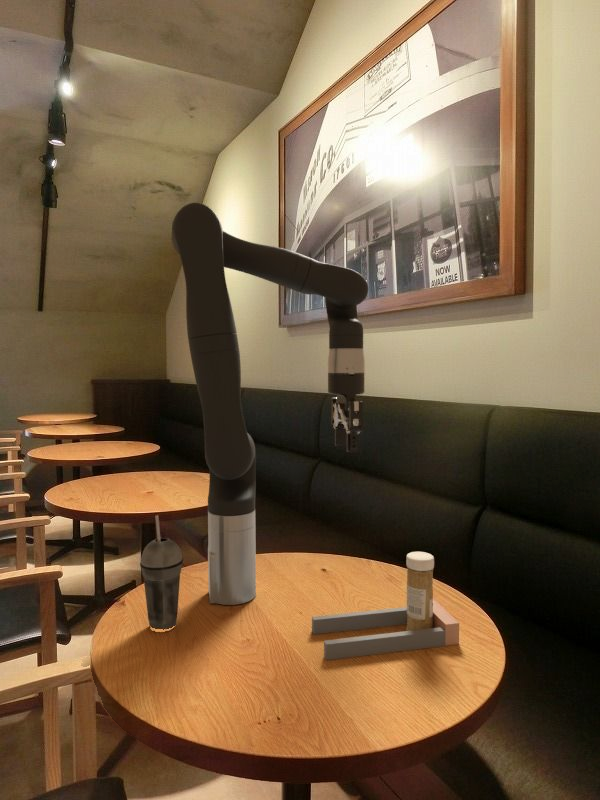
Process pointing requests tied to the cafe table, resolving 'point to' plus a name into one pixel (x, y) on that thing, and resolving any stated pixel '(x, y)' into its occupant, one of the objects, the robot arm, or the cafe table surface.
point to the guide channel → (439, 635)
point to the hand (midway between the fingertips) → (346, 449)
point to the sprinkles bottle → (419, 591)
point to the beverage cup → (161, 580)
